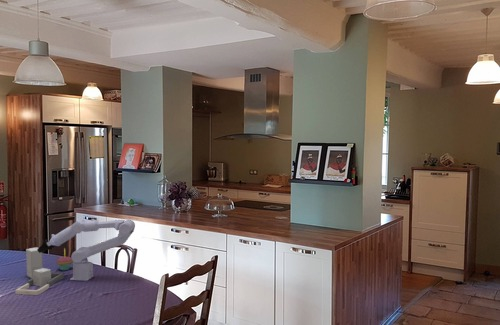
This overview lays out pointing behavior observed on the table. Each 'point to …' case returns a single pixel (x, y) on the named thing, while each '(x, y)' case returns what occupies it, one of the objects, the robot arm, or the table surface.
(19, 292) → the bracket frame
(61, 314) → the table surface
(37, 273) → the skincare box
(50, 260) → the table surface
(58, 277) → the frame
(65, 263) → the cupcake
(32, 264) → the skincare box
